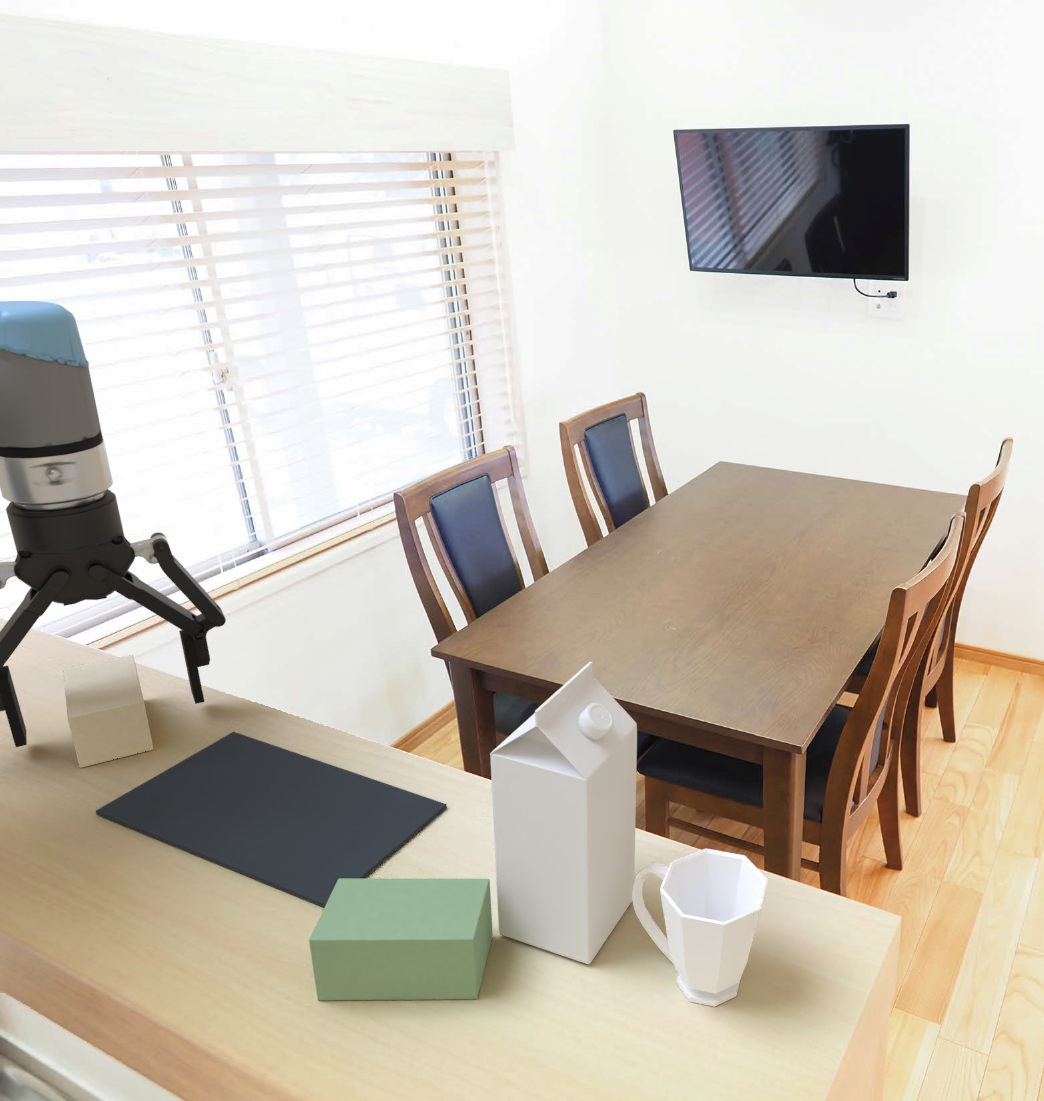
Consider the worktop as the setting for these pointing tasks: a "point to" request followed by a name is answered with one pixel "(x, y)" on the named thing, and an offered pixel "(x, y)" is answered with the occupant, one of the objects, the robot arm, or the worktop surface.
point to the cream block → (106, 710)
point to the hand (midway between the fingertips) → (113, 717)
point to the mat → (275, 815)
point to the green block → (402, 939)
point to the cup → (705, 920)
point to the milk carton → (566, 820)
